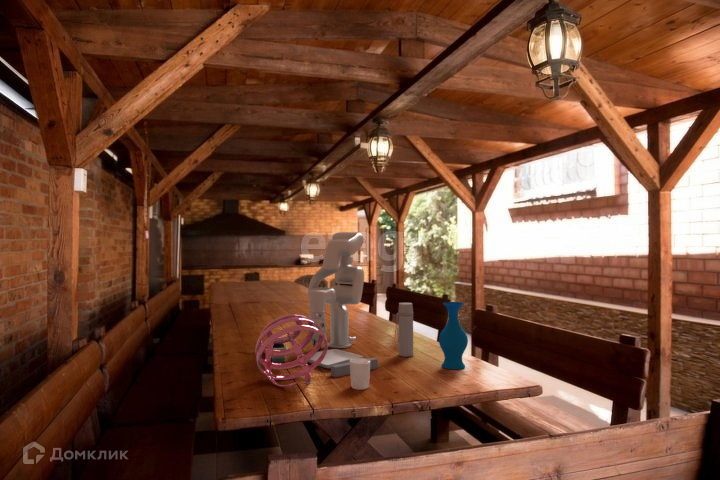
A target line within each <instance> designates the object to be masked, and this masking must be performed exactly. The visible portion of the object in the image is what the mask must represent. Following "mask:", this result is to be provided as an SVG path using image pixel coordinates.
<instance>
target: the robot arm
mask: <svg viewBox="0 0 720 480" xmlns="http://www.w3.org/2000/svg"><path fill="white" fill-rule="evenodd" d="M364 241H365V240H364V235H363V234H362V233H361V232H355V231H353V232H351V231H350V232H349V231H347V232H345V231H344V232H343V231H341V232H340V231H339V232H336V233H334V234H333V235H332V238H331V240H330V241H328V243H327V245H326V249H325V253H324V258H323V262H322V266H321V267H320V269H318V270H317V271H316V272H315V273H314V275H313V276H312V277H311V279H310V282H309V285H308V289H307V299H308V301H309V302H308V303H309V304H308V311H309V313H308V319H311V320H313V321H314V322H316V323H317V324H318V325H319V326H320V328H321V330H322V332H323V333H324V334H325V336H326V338H328V331H327V330H328V329H327V320H326V304H329V312H330V315H329V316H330V317H329V318H330V328H329V329H330V333H329V334H330V336H329V337H330V341H329V342H328V348H330V349H346V348H350V347H352V345H353V344H352V343H351V342H352V341H357V337H356V336H352V337H351V336H350V335H349V327H350V326H349V324H350V323H349V321H350V320H349V310H348V308H347V306H346V305H359V304H360V302H361V300H362V297H363V296H362V295H363V289H364V283H365V272H364V269H363V267H361V266H359V265H353V264H354V263H353V261H354V257H353V256H354V255H355V254H356V253H357V252H358V251H360V249H361V248H362V246H363V244H364ZM332 275H334V282H336V283H338V284H339V285H337V284H336V285H333V286H331V287H321V286H320V287H319V285H320V283H321V282H322V281H323V280H325V279H327V278H328V277H331V276H332ZM340 284H343V285H340ZM344 284H345V285H344ZM347 284H348V285H347ZM313 325H314V324H313ZM314 327H316V328H317V326H316V325H314ZM318 338H319V334H318V333H316V332H314V335H313V338H312V340H311V341H312V345H313V346H312V349H313V348H314V346H315V345H316V343H317V341H318ZM322 344H325V340H324V338H323V342H322ZM320 351H322V346H321V347H320V349H319V350H318V351H317V352H320Z"/></svg>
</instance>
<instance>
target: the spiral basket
mask: <svg viewBox="0 0 720 480" xmlns="http://www.w3.org/2000/svg"><path fill="white" fill-rule="evenodd" d="M292 322H295V323H296V324H295V325H291V326H287V327H284V328H282V329H280V330H278V331H276V332H275V333H273V332H272V330H274V329H276V328H278V327H279V326H282V325H285V324H288V323H292ZM303 322H306V323H307V324H303ZM313 324H314V325H316V326H317V328H316V327H314V325H313ZM303 331H305V332H306V331H307V332H308V333H307V334H306V336H305V338H304V339H303V340H302V341H301V342H299V343H297V342H296V338H298V337H299V336H300V335H301V333H302V332H303ZM314 332H316V333H318V334H319V338H318V341H317V343H316V345H315V346H314V348H313V347H312V349H311V350H310V351H308V352H307V353H306V354H303V352H302V351H303V349H305V348H306V347H307V346H308V345H309V344H310V342H311V341H312V338H313V335H314ZM285 335H286V336H285ZM265 336H266V337H267V338H266V339H265V340H263V339H264V337H265ZM281 336H282V337H281ZM323 338H324V348H323V350H322V351H323V352H322V354H321V356H320V357H319V358H318V359H317V360H316V361H315V362H314V363H313V364H310V365H309V364H308V362H307V361H308V360H309V359H310V358H312V357H313V356H314V355H315V354H316V353H317V351H318V350H319V349H320V347H321V348H322V344H323V343H322V342H323ZM327 338H328V337H327ZM327 338H326V336H325V334H324V333H323V332H322V330H321V328H320V326H319V325H318V324H317V323H316V322H314V321H313V320H311V319H309V317H306V316H305V315H301V314H294V313H293V314H292V313H290V314H283V315H282V316H278V317H276V318H275V319H273V320H271V321H270V322H269V323H268V324H266V325H265V326H264V328H263V329H262V331H261V332H260V334H259V337H258V339H257V342H256V344H255V351H254V352H255V356H256V364H257V368H258V369H259V371H260V372H261V374H262V375H263V376H264V377H266V378H267V379H268V380H269V381H270V382H271V383H272V384H273V385H274V386H277V387H279V388H282V389H283V388H284V389H286V388H287V389H288V388H292V387H293V386H295V385H297V382H293V383H289V384H280V383H278V382H277V381H287V380H293V379H297V378H300V377H304V379H305V380H304V384H305V385H307V386H308V385H309V384H310V383H311V382H312V377H311V376H312V375H311V372H312V371H313V370H314V369H315V368H317V367H319V366H318V365H319V364H320V363H321V362H322V360H323V359H324V357H325V355H326V353H327V350H329V349H328V348H329V347H328V343H329V342H328V339H327ZM275 343H279V344H280V343H285V344H286V343H291V345H292V346H291V347H290V348H286V350H273V345H274V344H275ZM269 344H270V345H269ZM263 353H264V354H265V359H263V358H262V354H263ZM291 355H296V359H295V360H292V361H288V362H284V363H273V362H272V360H271V357H272V356H274V357H283V356H285V357H288V356H291ZM261 365H262V366H263V367H264V368H265V370H264V369H263V368H262V366H261ZM299 366H300V368H301V369H300V370H299V371H297V372H293V373H289V374H274V373H273V372H272V370H287V369H292V368H295V367H299Z"/></svg>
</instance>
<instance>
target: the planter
mask: <svg viewBox="0 0 720 480" xmlns="http://www.w3.org/2000/svg"><path fill="white" fill-rule="evenodd" d="M281 337H283V336H281ZM269 345H270V344H269ZM269 345H268V346H269ZM286 349H287V346H286V343H280V344H279V343H275V344H274V345H273V350H286ZM285 359H286V356H283V357H274V356H272V357H271V358H270V360H271V362H272V363H276V364H281V363H285V361H286V360H285Z"/></svg>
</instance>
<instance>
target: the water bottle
mask: <svg viewBox="0 0 720 480" xmlns="http://www.w3.org/2000/svg"><path fill="white" fill-rule="evenodd" d="M413 307H414V306H413V303H412V302H398V309H397V310H398V312H397V313H395V314H396V322H395V327H396V330H395V332H394V337H397V336H396V335H397V330H398V342H397V343H396V341H394V344H395V346H397V345H398V356H399V357H403V358H410V357H413V356H414V308H413Z"/></svg>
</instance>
